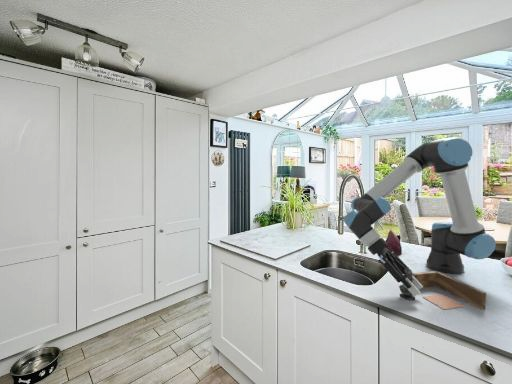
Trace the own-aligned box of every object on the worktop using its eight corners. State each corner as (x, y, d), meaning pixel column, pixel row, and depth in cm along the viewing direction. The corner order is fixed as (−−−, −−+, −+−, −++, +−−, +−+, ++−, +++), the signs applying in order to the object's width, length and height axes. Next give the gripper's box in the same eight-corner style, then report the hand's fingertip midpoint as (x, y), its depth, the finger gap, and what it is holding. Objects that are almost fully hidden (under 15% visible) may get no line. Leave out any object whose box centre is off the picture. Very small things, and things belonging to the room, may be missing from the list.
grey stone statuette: (400, 291, 102) (401, 263, 101) (417, 296, 99) (418, 266, 98) (397, 297, 98) (398, 267, 97) (415, 302, 94) (416, 271, 93)
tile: (442, 294, 99) (442, 294, 99) (465, 306, 90) (465, 306, 90) (422, 297, 98) (422, 296, 98) (443, 309, 89) (443, 308, 89)
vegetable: (381, 255, 156) (376, 231, 159) (399, 253, 154) (393, 229, 157) (387, 256, 146) (381, 230, 148) (406, 254, 144) (400, 228, 147)
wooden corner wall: (436, 284, 108) (436, 270, 108) (485, 309, 89) (486, 292, 88) (411, 286, 106) (411, 273, 106) (456, 312, 87) (457, 296, 86)
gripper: (373, 242, 114) (414, 287, 104) (359, 252, 100) (405, 305, 91) (386, 232, 110) (430, 278, 101) (374, 242, 96) (423, 296, 87)
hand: (418, 291), depth 96 cm, fingers closed on grey stone statuette, 5 cm apart
